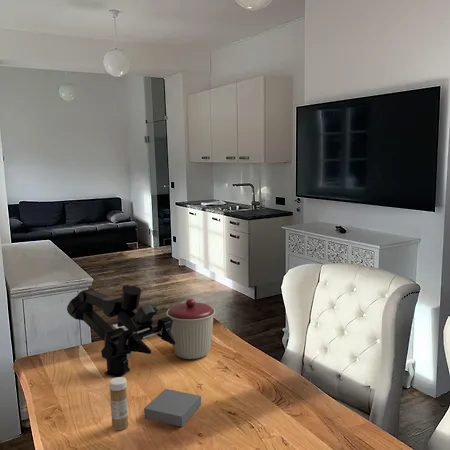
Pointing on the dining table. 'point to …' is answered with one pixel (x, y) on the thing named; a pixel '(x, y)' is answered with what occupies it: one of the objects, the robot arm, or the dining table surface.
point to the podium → (172, 407)
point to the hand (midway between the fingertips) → (163, 347)
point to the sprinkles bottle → (118, 403)
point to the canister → (191, 328)
